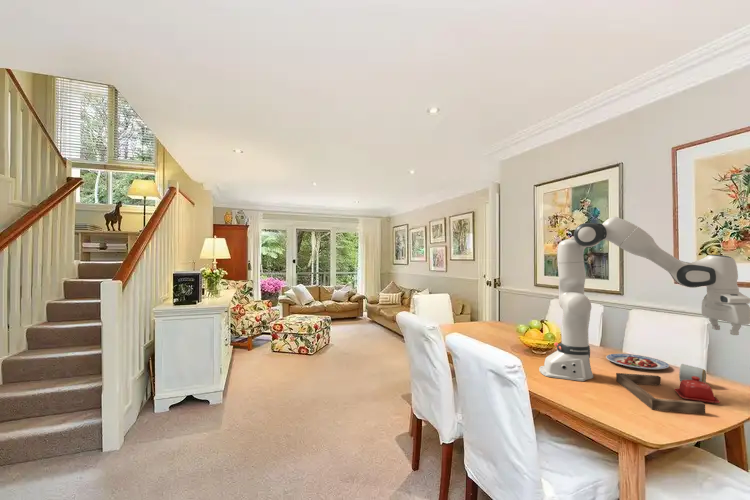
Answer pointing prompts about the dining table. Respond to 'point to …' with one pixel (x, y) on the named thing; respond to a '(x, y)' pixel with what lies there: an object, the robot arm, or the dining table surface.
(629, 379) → the dock
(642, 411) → the dining table surface
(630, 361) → the ceramic plate
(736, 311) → the robot arm
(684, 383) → the butter dish
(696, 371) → the ceramic mug
